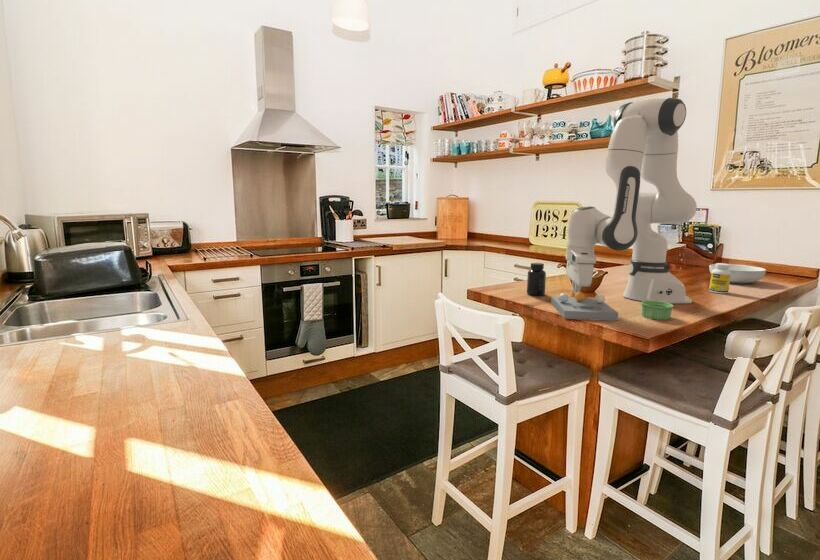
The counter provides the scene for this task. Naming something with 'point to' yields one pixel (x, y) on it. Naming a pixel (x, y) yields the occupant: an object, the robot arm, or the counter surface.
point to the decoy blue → (563, 297)
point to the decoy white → (599, 298)
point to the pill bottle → (720, 279)
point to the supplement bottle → (536, 280)
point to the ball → (579, 296)
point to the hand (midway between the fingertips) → (576, 294)
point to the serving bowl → (743, 273)
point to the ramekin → (656, 310)
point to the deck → (584, 309)
